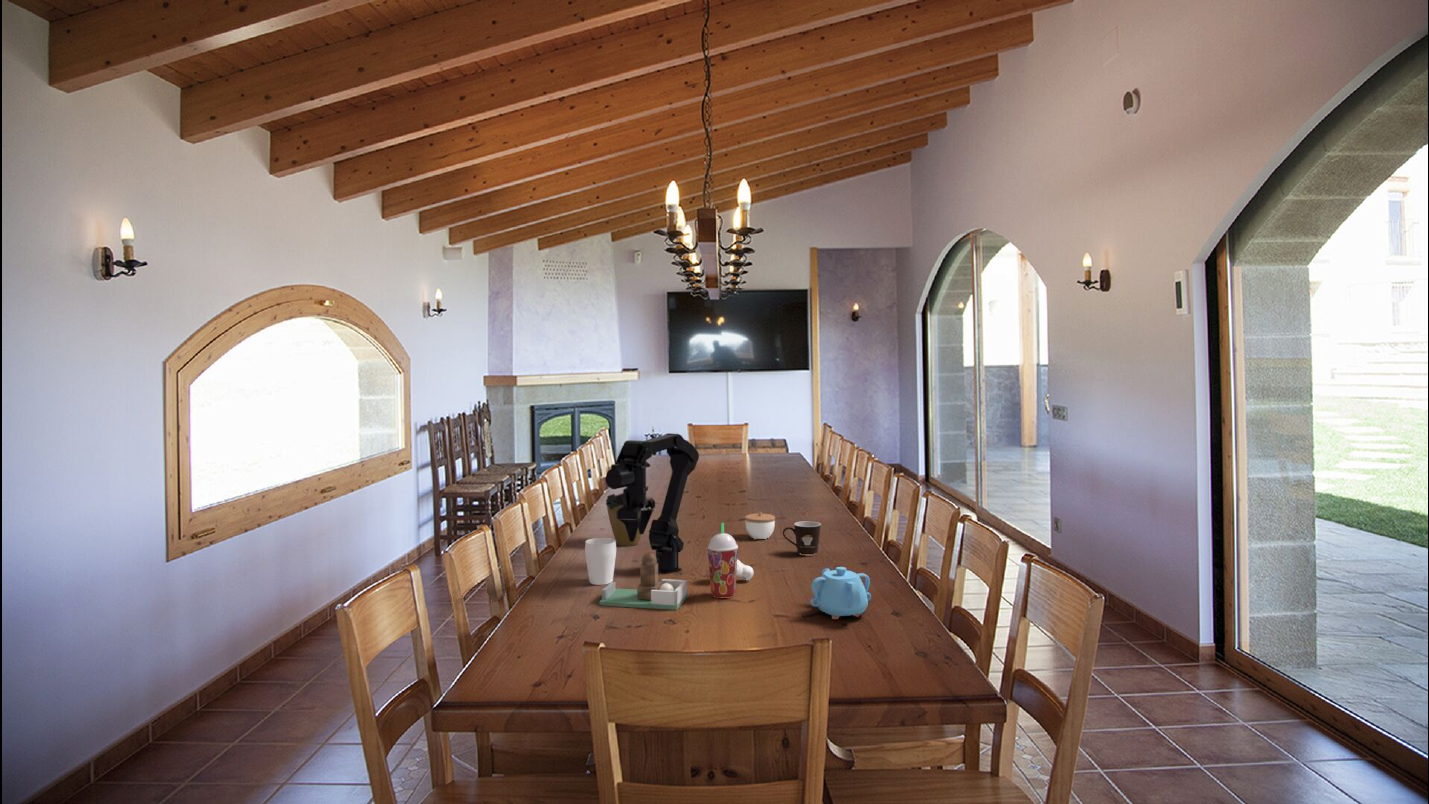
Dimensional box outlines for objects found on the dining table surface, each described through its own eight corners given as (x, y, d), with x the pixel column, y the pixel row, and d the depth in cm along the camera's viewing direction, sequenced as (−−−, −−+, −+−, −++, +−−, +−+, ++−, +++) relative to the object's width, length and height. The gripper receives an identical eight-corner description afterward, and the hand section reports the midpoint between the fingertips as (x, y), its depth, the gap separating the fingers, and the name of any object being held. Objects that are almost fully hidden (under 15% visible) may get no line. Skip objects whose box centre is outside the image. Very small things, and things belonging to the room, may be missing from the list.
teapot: (888, 622, 196) (888, 574, 195) (826, 629, 191) (826, 580, 191) (852, 598, 215) (852, 555, 215) (794, 604, 211) (794, 560, 210)
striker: (637, 599, 212) (636, 555, 211) (643, 592, 218) (643, 549, 217) (655, 600, 211) (654, 556, 210) (661, 593, 217) (661, 550, 216)
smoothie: (742, 592, 221) (741, 521, 220) (733, 601, 213) (732, 527, 212) (713, 590, 224) (713, 519, 222) (703, 598, 216) (702, 525, 215)
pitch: (599, 605, 211) (599, 588, 211) (614, 591, 223) (614, 576, 222) (676, 610, 206) (676, 592, 206) (687, 596, 218) (687, 579, 218)
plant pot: (647, 548, 272) (646, 502, 271) (603, 548, 272) (603, 502, 271) (651, 538, 286) (650, 494, 286) (609, 538, 287) (609, 494, 286)
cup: (610, 587, 227) (610, 545, 227) (580, 585, 229) (580, 544, 228) (620, 578, 236) (620, 538, 235) (591, 576, 238) (591, 536, 237)
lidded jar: (743, 540, 282) (743, 514, 281) (747, 534, 292) (747, 508, 292) (773, 541, 280) (773, 515, 280) (776, 535, 291) (776, 509, 290)
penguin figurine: (713, 549, 235) (754, 552, 235) (711, 577, 235) (751, 581, 235) (713, 554, 228) (755, 558, 229) (711, 583, 229) (752, 587, 229)
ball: (667, 580, 216) (672, 594, 216) (654, 586, 214) (659, 600, 214) (673, 580, 212) (678, 595, 212) (660, 587, 210) (665, 601, 210)
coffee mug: (824, 553, 264) (825, 523, 263) (813, 558, 257) (813, 528, 256) (793, 548, 270) (793, 519, 270) (781, 554, 263) (781, 524, 262)
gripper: (619, 478, 241) (620, 529, 242) (598, 488, 223) (599, 544, 224) (655, 479, 239) (656, 531, 240) (636, 490, 220) (637, 545, 221)
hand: (636, 537), depth 231 cm, fingers open, 9 cm apart
